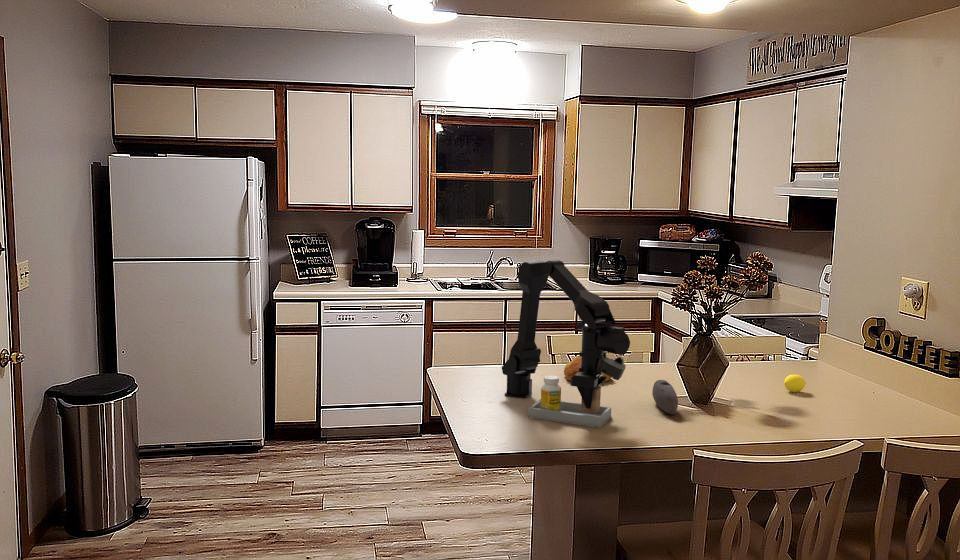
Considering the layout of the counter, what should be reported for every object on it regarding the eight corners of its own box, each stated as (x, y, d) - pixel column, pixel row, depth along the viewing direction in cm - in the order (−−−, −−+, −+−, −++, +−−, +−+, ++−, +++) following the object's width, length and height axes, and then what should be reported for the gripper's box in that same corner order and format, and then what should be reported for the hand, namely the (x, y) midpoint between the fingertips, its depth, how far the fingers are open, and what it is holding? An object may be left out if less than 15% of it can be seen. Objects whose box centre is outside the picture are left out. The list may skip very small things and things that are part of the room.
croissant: (577, 377, 264) (575, 353, 264) (619, 379, 254) (617, 354, 254) (553, 385, 252) (552, 360, 252) (597, 386, 243) (595, 360, 243)
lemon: (788, 394, 239) (789, 377, 239) (779, 389, 245) (780, 372, 244) (809, 394, 240) (811, 376, 240) (800, 389, 246) (801, 372, 245)
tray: (528, 417, 212) (528, 408, 211) (541, 407, 221) (541, 398, 221) (600, 427, 204) (601, 418, 204) (611, 416, 214) (611, 407, 213)
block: (581, 410, 209) (581, 388, 208) (585, 407, 213) (586, 385, 212) (596, 413, 208) (596, 390, 207) (599, 409, 211) (600, 386, 211)
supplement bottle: (552, 408, 218) (553, 373, 217) (564, 413, 214) (565, 378, 213) (536, 411, 215) (537, 376, 214) (548, 416, 211) (549, 380, 210)
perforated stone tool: (682, 418, 214) (683, 393, 213) (662, 418, 214) (664, 392, 213) (668, 402, 229) (670, 378, 228) (650, 402, 229) (651, 378, 228)
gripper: (614, 358, 197) (612, 420, 199) (631, 344, 214) (628, 401, 216) (570, 353, 201) (568, 414, 203) (590, 340, 218) (588, 395, 220)
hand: (590, 406), depth 210 cm, fingers closed on block, 4 cm apart
